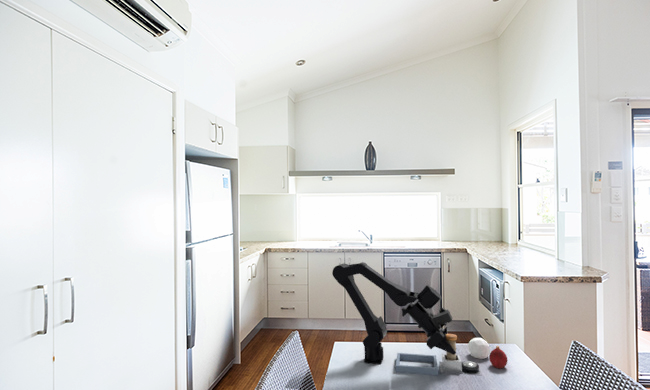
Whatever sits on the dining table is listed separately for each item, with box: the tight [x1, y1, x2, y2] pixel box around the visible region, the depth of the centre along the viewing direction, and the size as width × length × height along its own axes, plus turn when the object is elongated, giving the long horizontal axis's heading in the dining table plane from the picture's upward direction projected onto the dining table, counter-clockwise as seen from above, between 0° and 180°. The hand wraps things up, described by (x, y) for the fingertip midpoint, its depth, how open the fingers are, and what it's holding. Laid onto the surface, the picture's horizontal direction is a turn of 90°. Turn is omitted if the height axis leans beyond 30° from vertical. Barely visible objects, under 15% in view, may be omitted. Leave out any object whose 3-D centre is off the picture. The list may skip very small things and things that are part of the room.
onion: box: [488, 345, 508, 369], centre depth 129 cm, size 6×6×8 cm
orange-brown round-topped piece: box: [445, 333, 458, 360], centre depth 129 cm, size 4×4×11 cm
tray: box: [395, 352, 439, 376], centre depth 130 cm, size 14×12×3 cm
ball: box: [467, 337, 491, 360], centre depth 139 cm, size 8×8×8 cm
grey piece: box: [438, 353, 482, 376], centre depth 128 cm, size 13×9×4 cm
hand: (455, 351), depth 128 cm, fingers closed on orange-brown round-topped piece, 3 cm apart
